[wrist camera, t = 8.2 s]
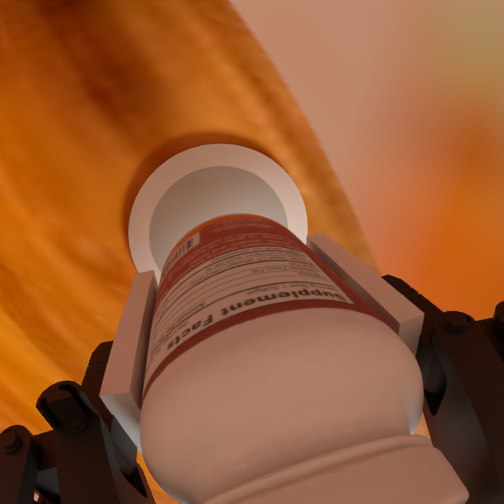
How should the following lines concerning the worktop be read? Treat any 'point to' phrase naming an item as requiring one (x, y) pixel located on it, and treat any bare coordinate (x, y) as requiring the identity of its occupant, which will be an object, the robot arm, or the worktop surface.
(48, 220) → the worktop surface
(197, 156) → the coaster
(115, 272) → the worktop surface
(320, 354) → the pill bottle
